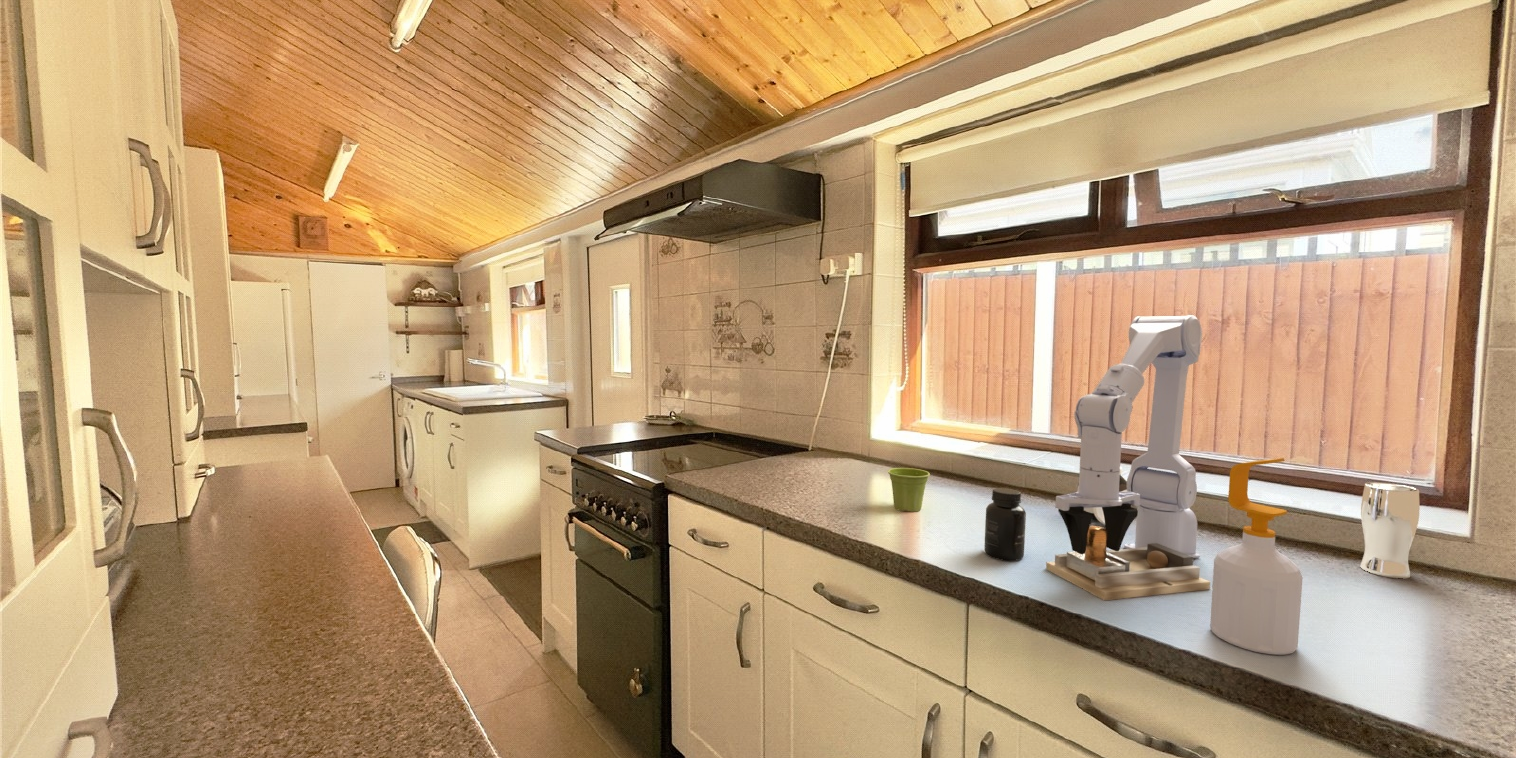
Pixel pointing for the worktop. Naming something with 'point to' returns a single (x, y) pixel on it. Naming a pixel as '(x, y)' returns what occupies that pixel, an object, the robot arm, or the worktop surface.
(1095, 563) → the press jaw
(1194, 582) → the base
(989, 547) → the supplement bottle
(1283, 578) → the soap bottle
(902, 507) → the plant pot
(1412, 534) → the beer glass
